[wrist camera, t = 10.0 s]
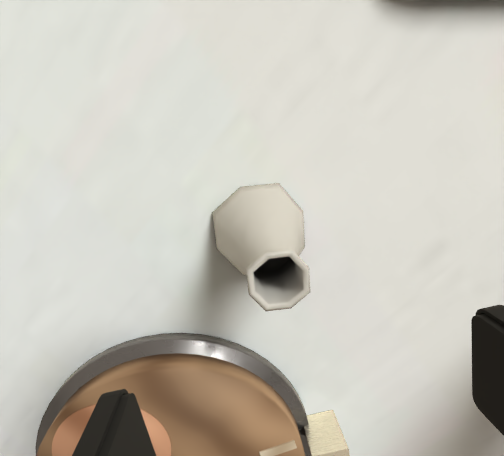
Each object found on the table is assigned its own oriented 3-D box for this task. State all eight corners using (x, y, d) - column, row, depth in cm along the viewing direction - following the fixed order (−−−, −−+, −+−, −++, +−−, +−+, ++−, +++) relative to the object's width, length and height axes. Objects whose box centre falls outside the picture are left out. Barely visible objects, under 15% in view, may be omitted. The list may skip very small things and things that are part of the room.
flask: (235, 286, 27) (241, 367, 17) (196, 206, 25) (177, 247, 15) (318, 250, 27) (370, 312, 17) (284, 166, 25) (322, 183, 15)
